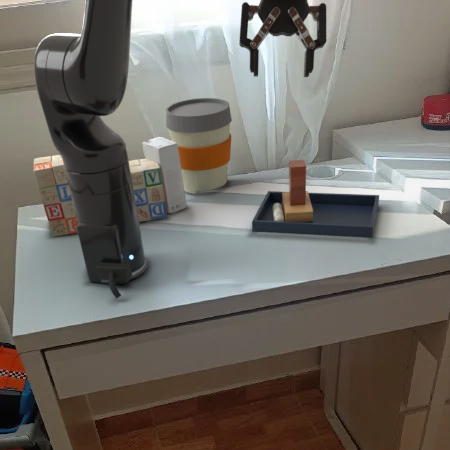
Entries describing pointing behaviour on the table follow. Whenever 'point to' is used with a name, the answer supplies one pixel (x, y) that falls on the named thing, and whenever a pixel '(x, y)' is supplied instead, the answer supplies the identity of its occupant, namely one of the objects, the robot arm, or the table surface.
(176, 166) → the cosmetic box
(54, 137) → the robot arm
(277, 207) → the chalk
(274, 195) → the tray
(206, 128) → the reusable coffee cup
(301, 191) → the wooden block on base
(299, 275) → the table surface
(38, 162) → the stack of blocks
